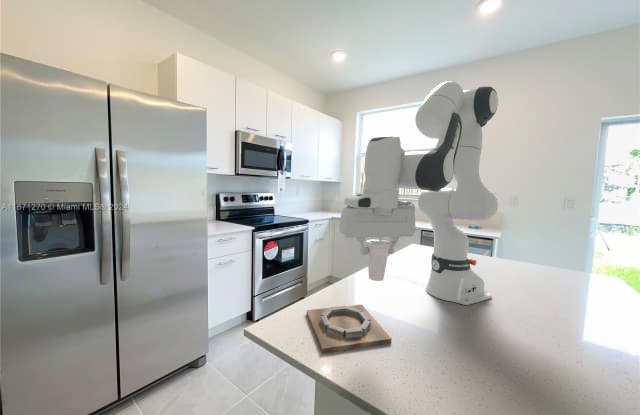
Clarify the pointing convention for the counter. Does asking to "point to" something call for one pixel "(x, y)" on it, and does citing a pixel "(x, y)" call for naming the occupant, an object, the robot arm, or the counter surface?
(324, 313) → the socket
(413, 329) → the counter surface
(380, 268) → the smoothie
